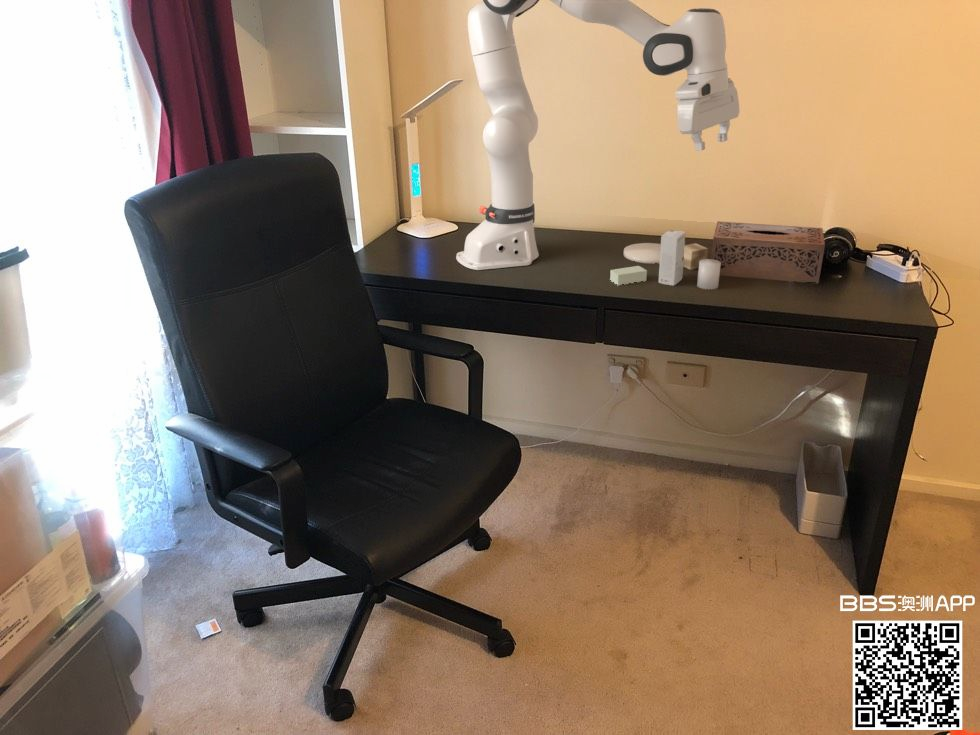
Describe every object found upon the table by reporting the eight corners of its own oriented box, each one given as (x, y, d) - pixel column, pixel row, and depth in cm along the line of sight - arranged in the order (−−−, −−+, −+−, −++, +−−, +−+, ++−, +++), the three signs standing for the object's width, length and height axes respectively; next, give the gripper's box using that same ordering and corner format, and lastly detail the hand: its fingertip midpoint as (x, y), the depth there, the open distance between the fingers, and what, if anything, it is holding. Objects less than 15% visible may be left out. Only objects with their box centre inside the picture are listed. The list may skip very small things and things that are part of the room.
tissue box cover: (816, 265, 208) (822, 228, 203) (818, 284, 195) (824, 245, 191) (713, 257, 215) (717, 221, 211) (709, 275, 203) (713, 237, 198)
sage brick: (617, 286, 197) (618, 275, 196) (609, 281, 200) (610, 269, 199) (646, 282, 199) (647, 270, 198) (638, 276, 203) (638, 265, 201)
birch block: (690, 270, 206) (691, 251, 204) (678, 264, 210) (680, 246, 208) (706, 267, 208) (707, 248, 206) (694, 261, 212) (695, 243, 210)
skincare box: (674, 286, 195) (678, 238, 190) (657, 283, 198) (660, 235, 192) (683, 278, 200) (687, 231, 195) (665, 275, 202) (669, 229, 197)
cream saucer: (642, 266, 209) (642, 262, 208) (613, 251, 220) (613, 247, 220) (686, 258, 214) (687, 254, 213) (656, 244, 225) (656, 240, 225)
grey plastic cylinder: (705, 290, 192) (708, 267, 190) (692, 284, 196) (695, 261, 194) (722, 287, 194) (725, 263, 191) (709, 281, 198) (711, 257, 196)
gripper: (720, 77, 191) (724, 136, 196) (670, 93, 179) (675, 155, 184) (744, 75, 186) (747, 135, 192) (694, 91, 175) (698, 155, 180)
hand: (711, 145), depth 188 cm, fingers open, 8 cm apart
